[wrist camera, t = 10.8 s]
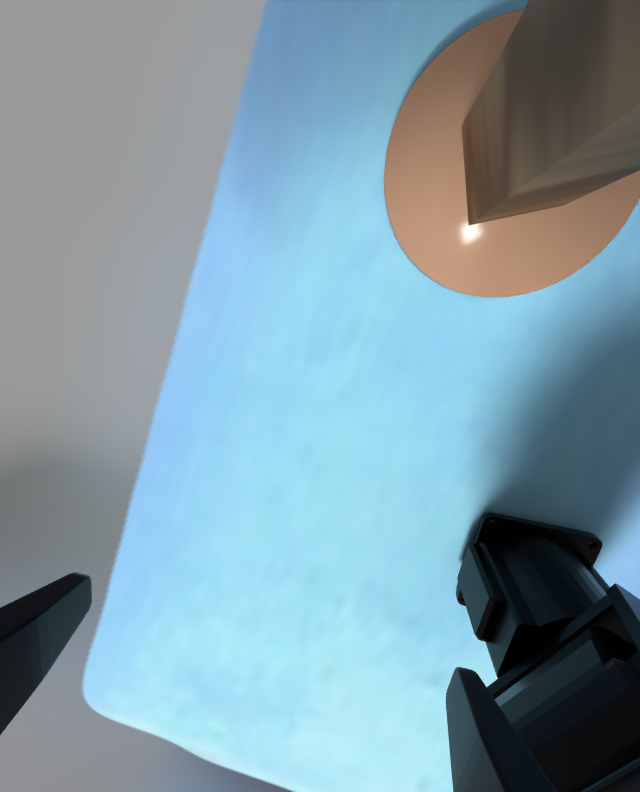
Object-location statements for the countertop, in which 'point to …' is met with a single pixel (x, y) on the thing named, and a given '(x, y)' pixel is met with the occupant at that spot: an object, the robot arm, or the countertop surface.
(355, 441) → the countertop surface
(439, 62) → the tan flat disc
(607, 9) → the walnut block
